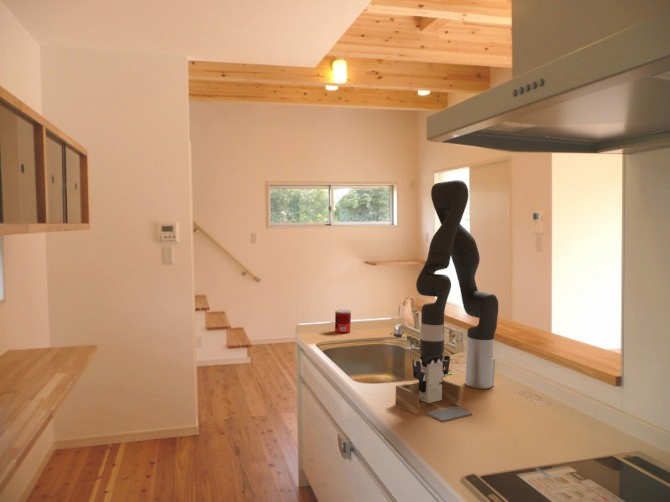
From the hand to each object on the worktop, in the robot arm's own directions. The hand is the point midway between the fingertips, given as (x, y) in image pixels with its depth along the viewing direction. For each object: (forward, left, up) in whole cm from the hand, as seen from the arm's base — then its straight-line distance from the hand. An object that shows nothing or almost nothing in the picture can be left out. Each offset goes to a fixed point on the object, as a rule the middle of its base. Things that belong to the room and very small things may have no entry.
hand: (430, 389), depth 168 cm
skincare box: (0, 0, -3) cm, 3 cm away
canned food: (-33, -103, -5) cm, 108 cm away
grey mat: (0, +9, -5) cm, 10 cm away
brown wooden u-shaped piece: (0, -1, -5) cm, 5 cm away
